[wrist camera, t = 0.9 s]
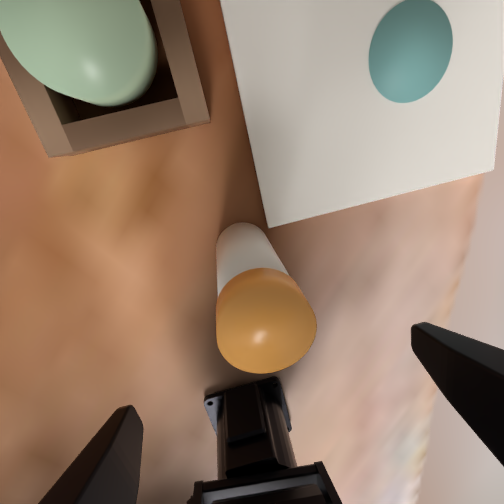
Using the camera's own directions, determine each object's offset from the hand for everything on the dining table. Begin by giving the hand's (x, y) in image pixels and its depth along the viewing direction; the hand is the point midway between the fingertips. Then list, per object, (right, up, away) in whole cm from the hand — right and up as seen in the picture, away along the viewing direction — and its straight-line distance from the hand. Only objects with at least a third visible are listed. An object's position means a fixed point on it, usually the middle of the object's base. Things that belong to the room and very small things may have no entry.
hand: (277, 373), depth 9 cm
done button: (-8, +13, +4) cm, 16 cm away
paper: (+6, +14, +8) cm, 17 cm away
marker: (-1, +4, +10) cm, 11 cm away
